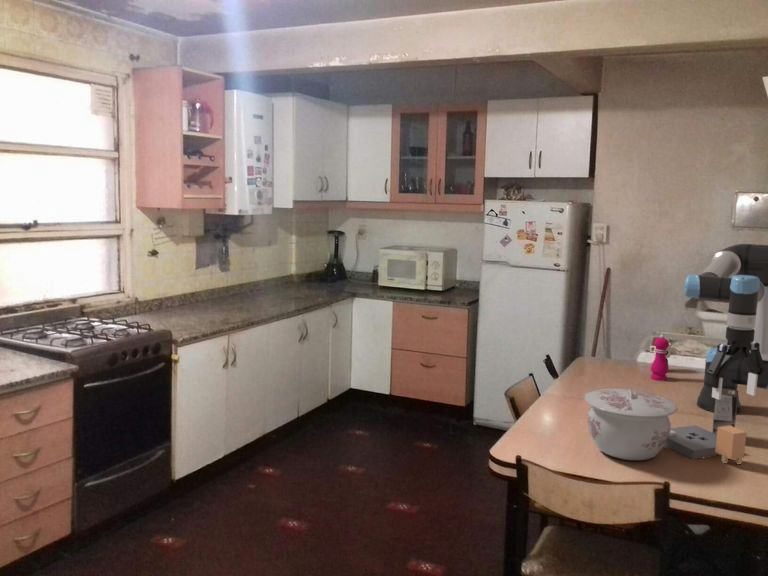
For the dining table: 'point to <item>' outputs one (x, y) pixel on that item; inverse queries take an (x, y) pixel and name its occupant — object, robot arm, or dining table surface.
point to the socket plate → (692, 441)
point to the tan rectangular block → (730, 443)
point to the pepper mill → (660, 359)
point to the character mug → (666, 353)
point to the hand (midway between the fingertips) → (733, 396)
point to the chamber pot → (629, 422)
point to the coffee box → (725, 409)
